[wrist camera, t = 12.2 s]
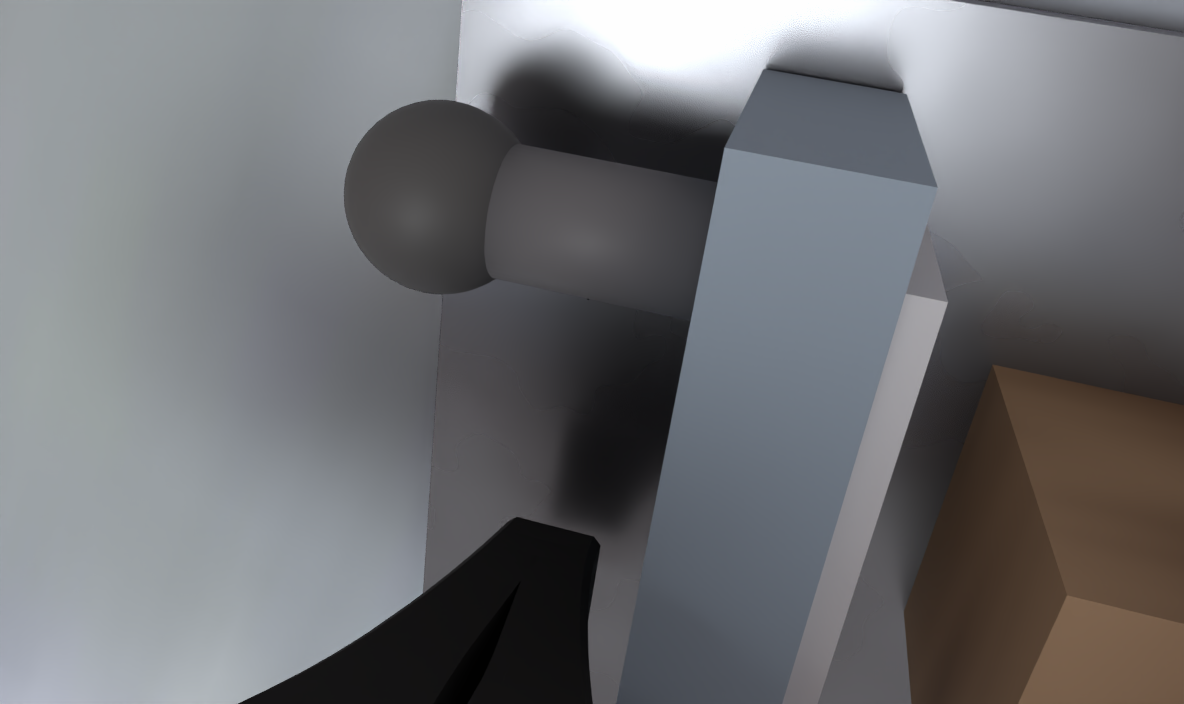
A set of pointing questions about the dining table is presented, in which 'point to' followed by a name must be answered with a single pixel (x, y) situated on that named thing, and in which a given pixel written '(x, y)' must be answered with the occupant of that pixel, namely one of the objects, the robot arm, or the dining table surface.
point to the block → (1055, 553)
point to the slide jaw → (712, 344)
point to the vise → (956, 224)
